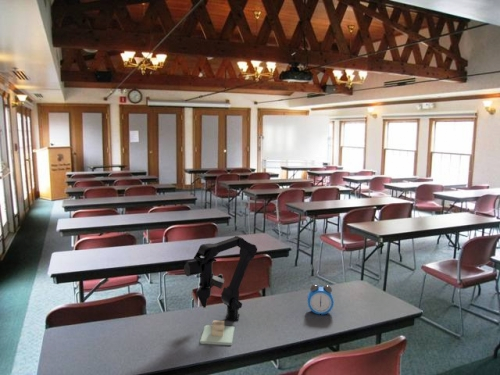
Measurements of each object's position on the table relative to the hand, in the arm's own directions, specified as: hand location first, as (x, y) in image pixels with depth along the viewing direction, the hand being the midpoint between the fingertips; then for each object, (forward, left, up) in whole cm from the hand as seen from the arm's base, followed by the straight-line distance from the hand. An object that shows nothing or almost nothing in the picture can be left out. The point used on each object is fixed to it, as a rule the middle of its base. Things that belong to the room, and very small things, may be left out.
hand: (205, 303), depth 181 cm
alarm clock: (-20, +57, -12) cm, 62 cm away
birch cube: (+8, +7, -11) cm, 15 cm away
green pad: (+8, +7, -12) cm, 16 cm away
